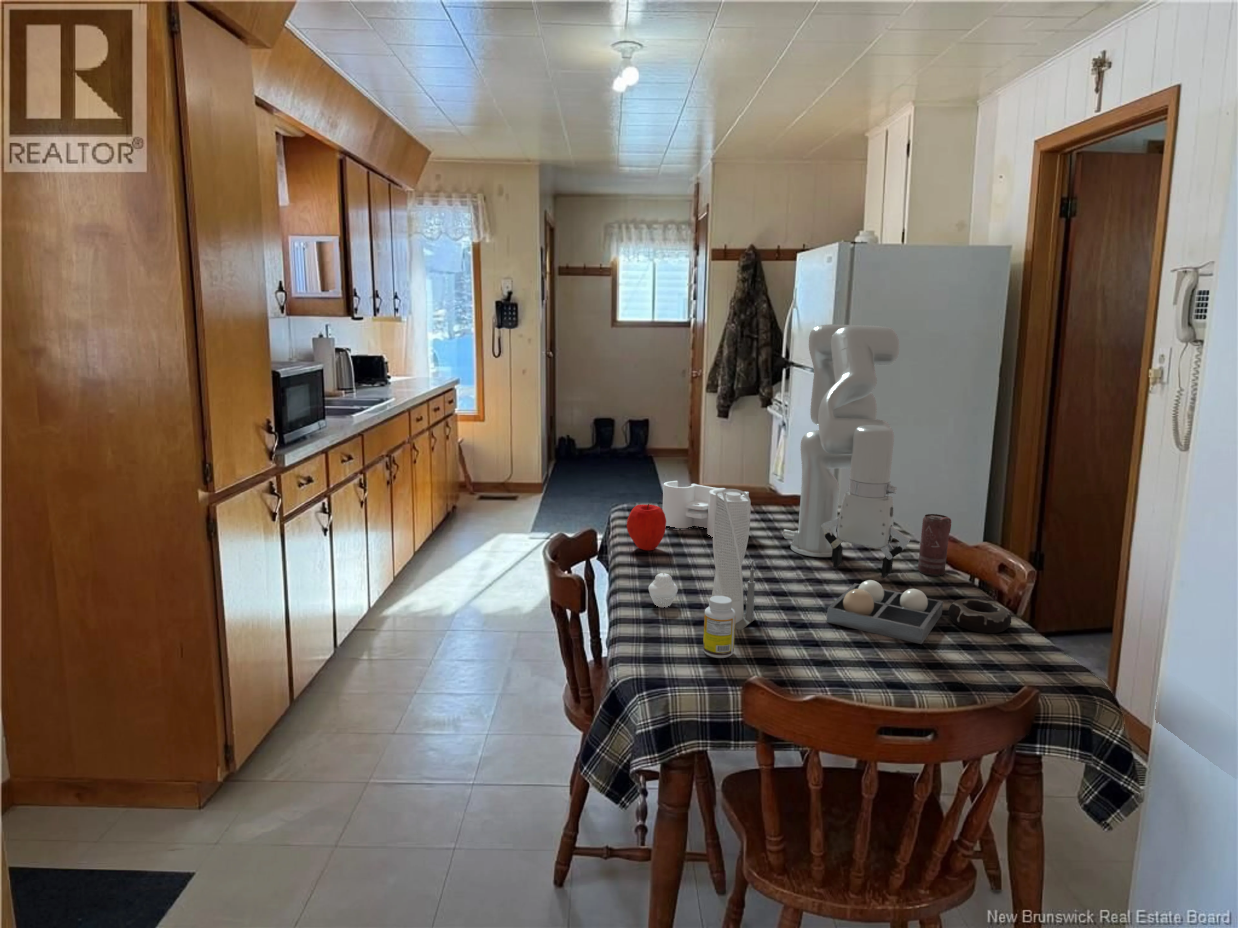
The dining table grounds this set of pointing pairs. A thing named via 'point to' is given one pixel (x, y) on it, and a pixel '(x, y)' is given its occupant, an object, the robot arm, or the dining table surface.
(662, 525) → the apple
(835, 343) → the robot arm
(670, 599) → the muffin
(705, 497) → the bracket
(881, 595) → the egg left
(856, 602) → the brown egg
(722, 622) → the supplement bottle
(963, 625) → the donut
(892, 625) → the grey shallow tray
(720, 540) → the skyscraper
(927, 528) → the can
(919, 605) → the white ball
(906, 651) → the dining table surface
